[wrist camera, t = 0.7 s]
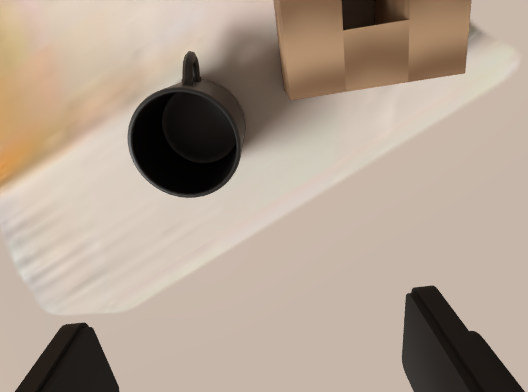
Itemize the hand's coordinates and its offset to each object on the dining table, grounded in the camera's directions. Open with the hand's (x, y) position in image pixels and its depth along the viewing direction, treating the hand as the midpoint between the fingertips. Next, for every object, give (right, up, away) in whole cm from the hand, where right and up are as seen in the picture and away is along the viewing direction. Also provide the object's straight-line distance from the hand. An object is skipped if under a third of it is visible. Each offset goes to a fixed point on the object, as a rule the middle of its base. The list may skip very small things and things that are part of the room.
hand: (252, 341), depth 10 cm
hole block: (+8, +23, +22) cm, 32 cm away
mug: (-6, +13, +26) cm, 30 cm away
